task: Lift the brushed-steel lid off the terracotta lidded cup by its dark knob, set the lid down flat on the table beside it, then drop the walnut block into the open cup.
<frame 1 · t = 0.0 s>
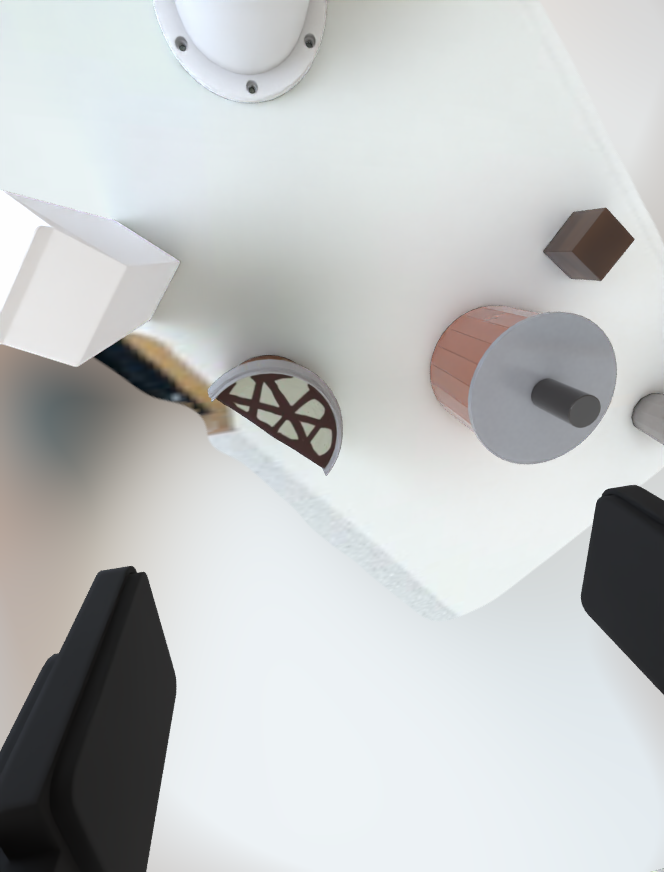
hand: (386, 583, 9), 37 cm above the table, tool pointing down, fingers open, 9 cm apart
lid: (540, 391, 39), point 10 cm above the table, touching canister
milk: (133, 272, 39), on the table
food container: (285, 378, 45), on the table
cup: (648, 411, 54), on the table
canister: (485, 365, 48), on the table
block: (572, 246, 45), on the table
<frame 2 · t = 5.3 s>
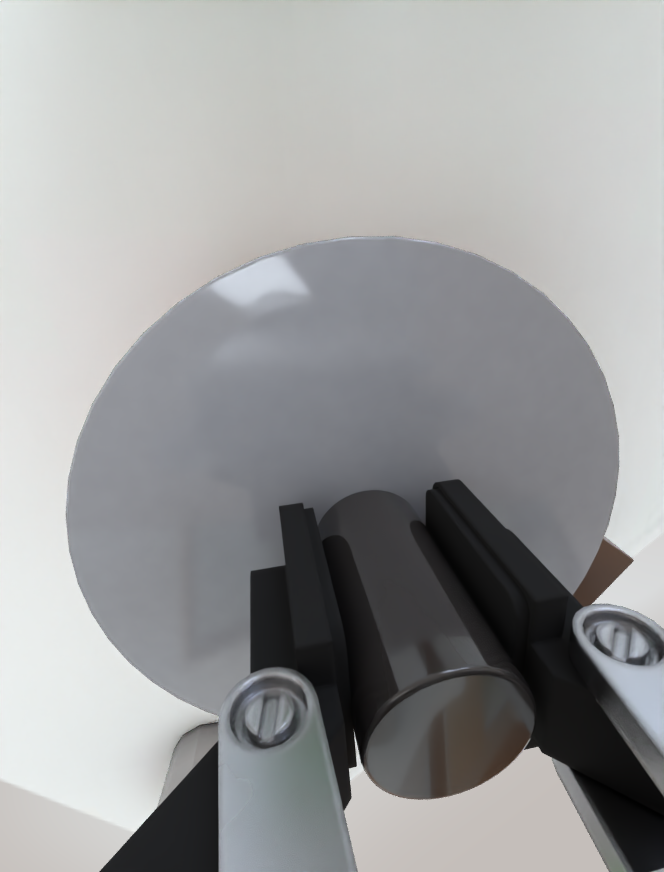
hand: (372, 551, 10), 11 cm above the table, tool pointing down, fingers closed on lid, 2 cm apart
lid: (361, 523, 11), point 10 cm above the table, touching canister, gripper
cup: (213, 745, 28), on the table
block: (522, 525, 25), on the table
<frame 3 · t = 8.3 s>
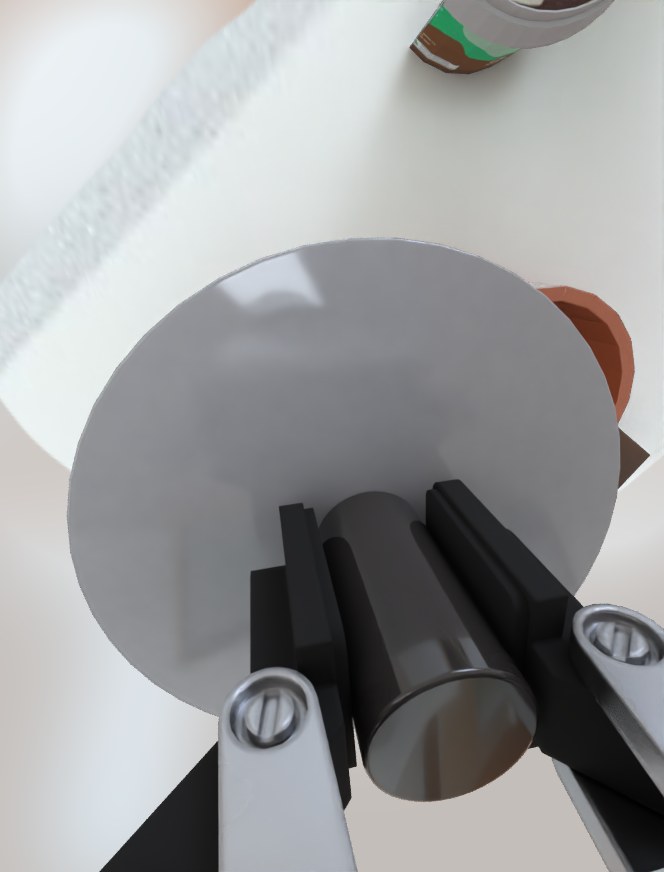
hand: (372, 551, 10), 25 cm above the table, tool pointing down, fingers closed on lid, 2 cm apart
lid: (362, 524, 11), point 24 cm above the table, touching gripper
food container: (493, 20, 28), on the table
canister: (464, 360, 36), on the table
block: (578, 442, 40), on the table
when the fingers open (2 cm above the table, at t = 11.5 s): lid stays where it is, point 1 cm above the table.
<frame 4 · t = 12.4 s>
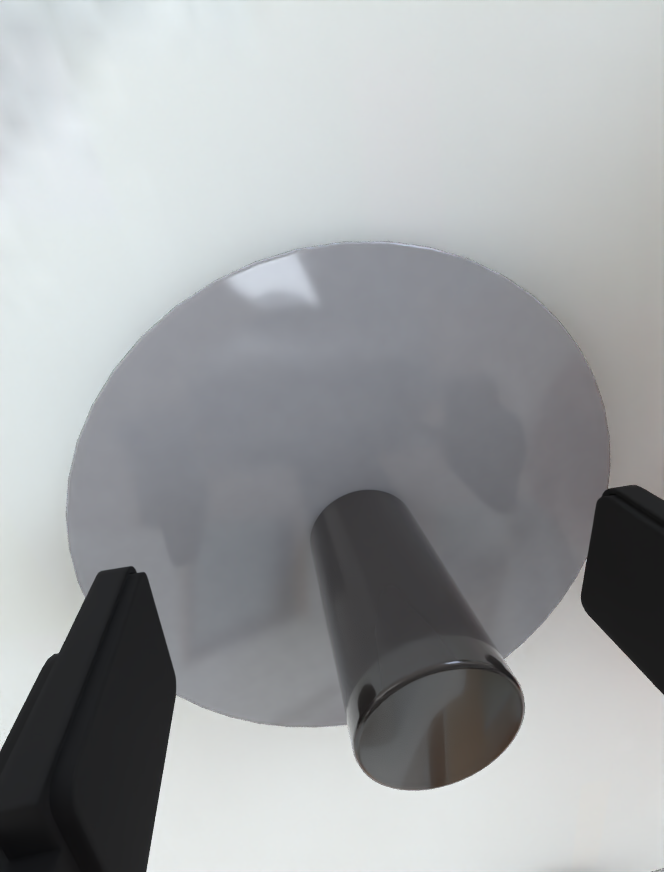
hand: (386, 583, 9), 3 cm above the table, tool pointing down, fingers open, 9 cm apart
lid: (357, 522, 12), point 1 cm above the table
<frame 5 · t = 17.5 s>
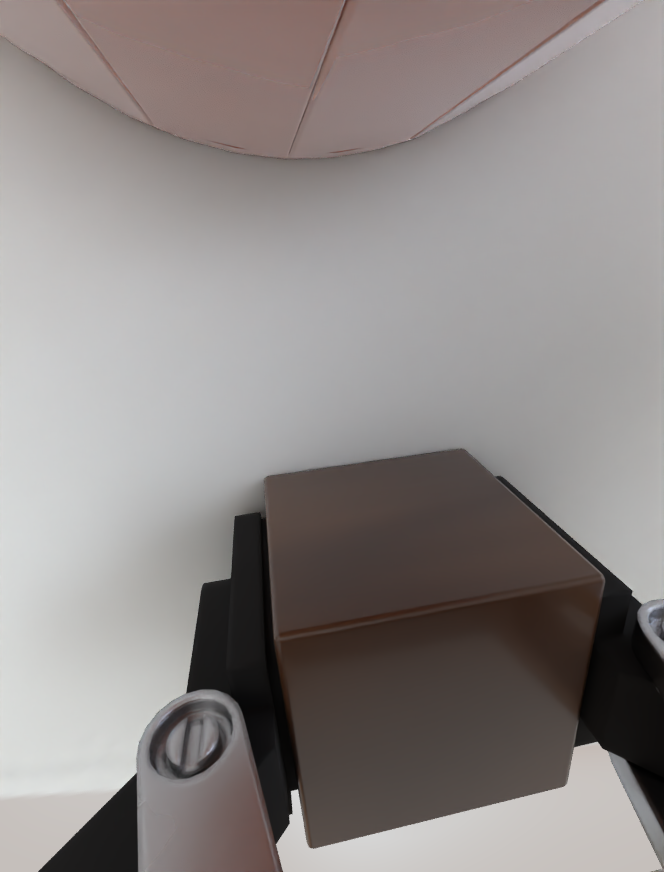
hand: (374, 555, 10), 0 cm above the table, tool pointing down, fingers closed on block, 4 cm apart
block: (370, 546, 11), on the table, touching gripper
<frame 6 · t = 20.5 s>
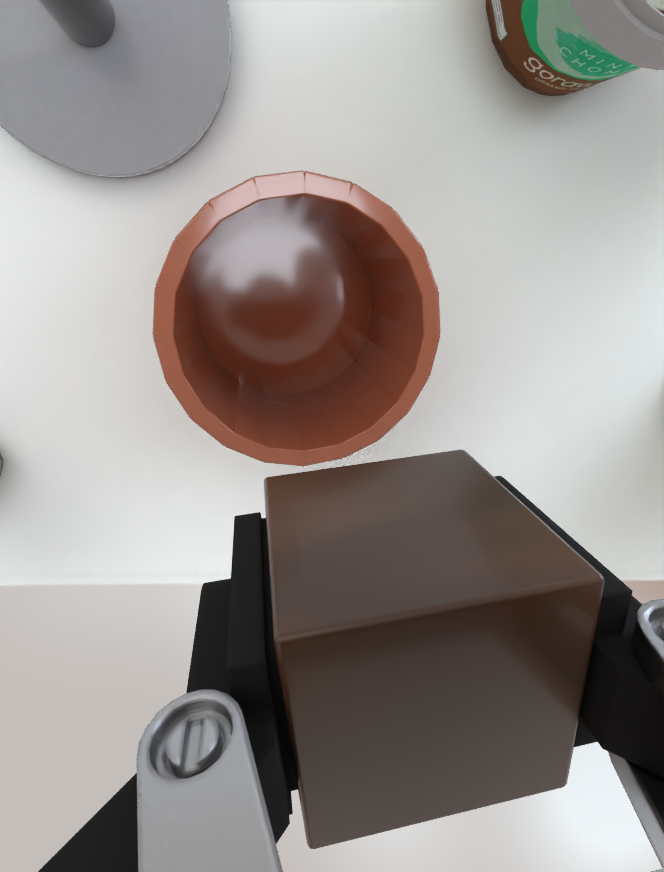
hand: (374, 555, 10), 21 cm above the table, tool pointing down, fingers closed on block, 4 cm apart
lid: (89, 19, 22), point 1 cm above the table
food container: (554, 57, 26), on the table
canister: (286, 310, 29), on the table
block: (370, 546, 11), point 21 cm above the table, touching gripper
when the fingers open (10 cm above the table, at t = 23.6 s): block drops 9 cm, resting on canister.
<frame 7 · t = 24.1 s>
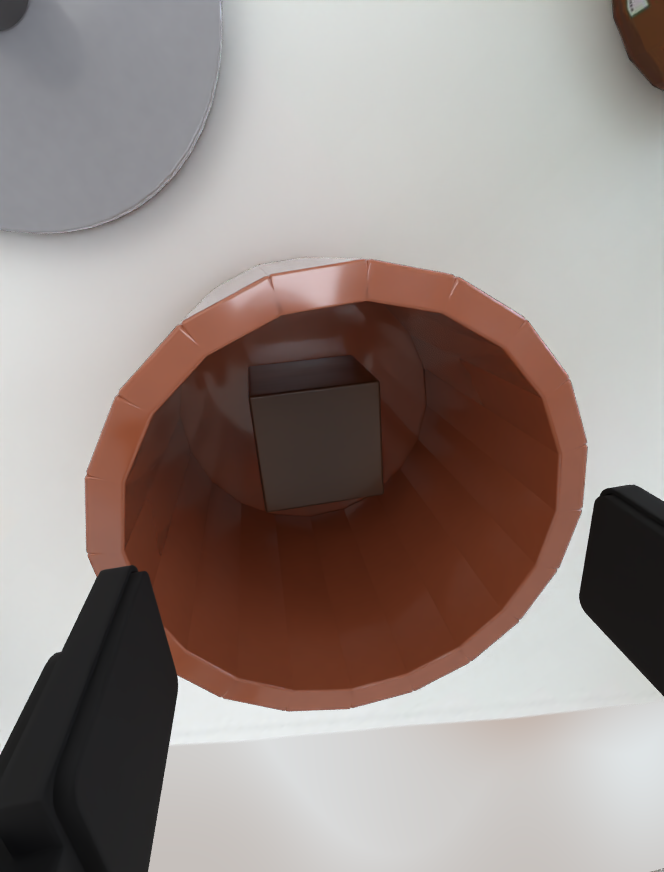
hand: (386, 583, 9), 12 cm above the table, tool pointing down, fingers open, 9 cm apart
canister: (307, 405, 20), on the table
block: (305, 410, 20), point 1 cm above the table, touching canister
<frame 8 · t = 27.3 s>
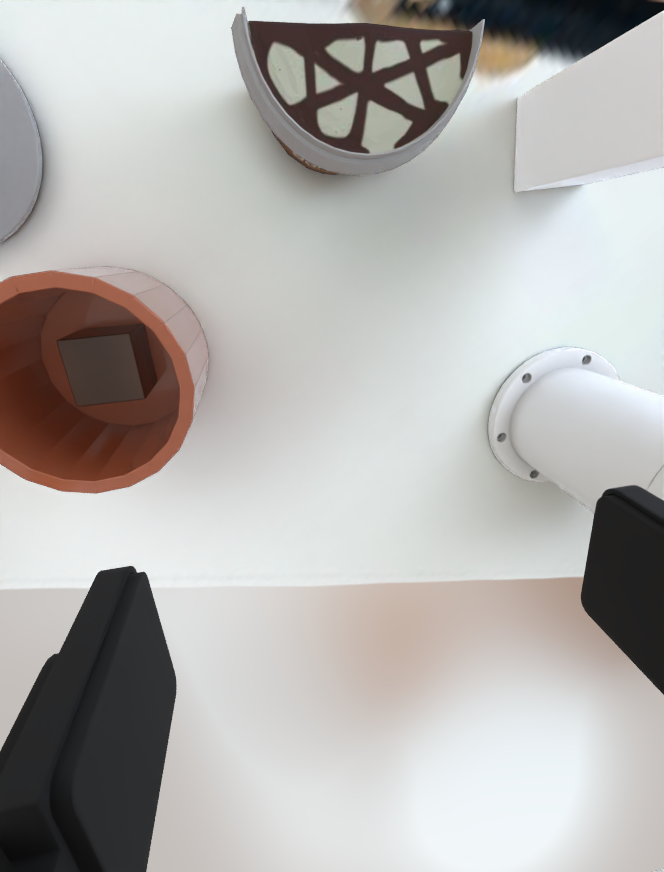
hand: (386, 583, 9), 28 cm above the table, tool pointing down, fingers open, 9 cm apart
milk: (551, 143, 33), on the table
food container: (332, 143, 31), on the table
canister: (123, 355, 34), on the table
block: (120, 357, 33), point 1 cm above the table, touching canister
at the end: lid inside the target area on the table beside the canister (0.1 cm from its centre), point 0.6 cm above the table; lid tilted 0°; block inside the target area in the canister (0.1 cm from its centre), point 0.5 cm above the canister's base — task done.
